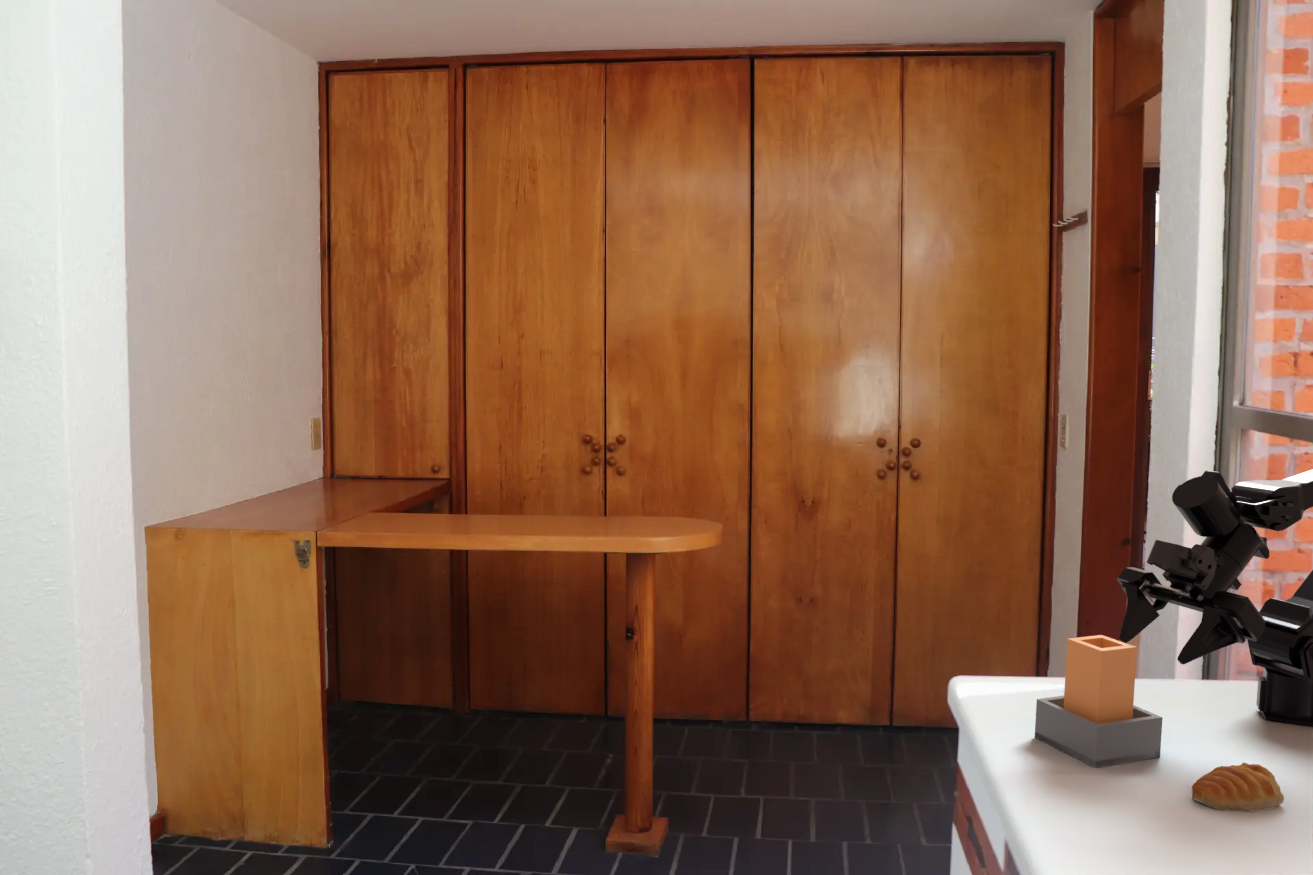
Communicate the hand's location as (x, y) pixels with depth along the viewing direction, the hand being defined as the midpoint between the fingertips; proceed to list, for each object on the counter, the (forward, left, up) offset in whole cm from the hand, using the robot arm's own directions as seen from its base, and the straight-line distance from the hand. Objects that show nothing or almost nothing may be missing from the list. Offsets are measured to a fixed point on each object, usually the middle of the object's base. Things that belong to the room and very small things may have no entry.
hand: (1149, 651), depth 132 cm
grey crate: (+6, +6, -11) cm, 14 cm away
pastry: (-9, +15, -12) cm, 21 cm away
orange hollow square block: (+6, +6, -11) cm, 13 cm away
